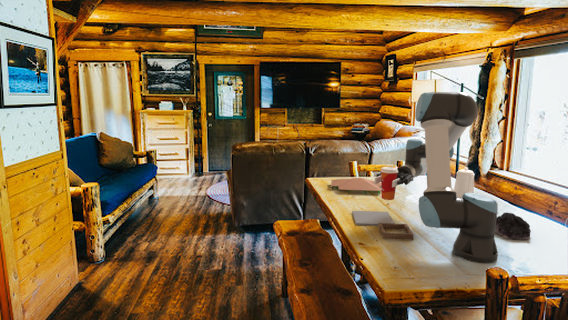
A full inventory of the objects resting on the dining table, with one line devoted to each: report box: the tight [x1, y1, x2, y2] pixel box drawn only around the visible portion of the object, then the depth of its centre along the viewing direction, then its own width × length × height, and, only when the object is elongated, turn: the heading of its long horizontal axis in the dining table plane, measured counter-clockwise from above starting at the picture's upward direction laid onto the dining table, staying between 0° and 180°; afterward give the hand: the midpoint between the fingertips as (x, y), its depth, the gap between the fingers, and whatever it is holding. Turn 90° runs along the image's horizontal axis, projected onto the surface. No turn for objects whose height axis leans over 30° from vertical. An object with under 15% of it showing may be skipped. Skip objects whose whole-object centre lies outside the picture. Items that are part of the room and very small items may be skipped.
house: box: [330, 177, 381, 195], centre depth 227 cm, size 23×33×8 cm
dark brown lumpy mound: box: [495, 212, 532, 240], centre depth 154 cm, size 13×14×10 cm
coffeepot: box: [453, 166, 476, 198], centre depth 205 cm, size 11×25×19 cm, turn 168°
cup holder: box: [377, 222, 414, 241], centre depth 155 cm, size 12×12×2 cm
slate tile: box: [352, 210, 395, 227], centre depth 174 cm, size 18×18×1 cm
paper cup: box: [380, 166, 398, 201], centre depth 160 cm, size 8×8×14 cm
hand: (384, 182), depth 156 cm, fingers closed on paper cup, 8 cm apart
